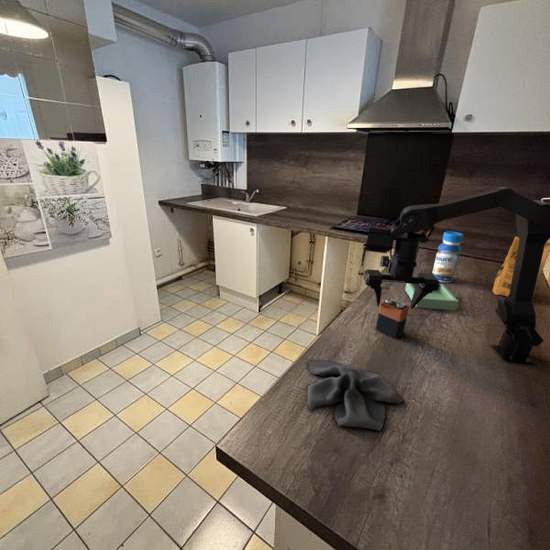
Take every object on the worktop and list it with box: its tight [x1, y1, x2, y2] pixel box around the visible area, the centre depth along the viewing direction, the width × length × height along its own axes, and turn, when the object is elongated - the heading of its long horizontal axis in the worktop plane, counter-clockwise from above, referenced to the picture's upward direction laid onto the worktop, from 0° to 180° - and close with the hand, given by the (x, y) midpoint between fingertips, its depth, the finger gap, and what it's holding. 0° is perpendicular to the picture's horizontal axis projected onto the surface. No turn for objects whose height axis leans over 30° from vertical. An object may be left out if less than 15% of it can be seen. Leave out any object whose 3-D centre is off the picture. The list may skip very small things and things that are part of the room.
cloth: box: [307, 360, 403, 432], centre depth 63 cm, size 22×19×6 cm
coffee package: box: [491, 236, 550, 297], centre depth 107 cm, size 10×12×22 cm
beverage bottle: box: [431, 231, 464, 283], centre depth 120 cm, size 8×8×20 cm
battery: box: [375, 298, 410, 339], centre depth 84 cm, size 4×7×10 cm, turn 42°
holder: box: [404, 283, 460, 311], centre depth 105 cm, size 14×13×4 cm
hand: (394, 306), depth 83 cm, fingers open, 9 cm apart
